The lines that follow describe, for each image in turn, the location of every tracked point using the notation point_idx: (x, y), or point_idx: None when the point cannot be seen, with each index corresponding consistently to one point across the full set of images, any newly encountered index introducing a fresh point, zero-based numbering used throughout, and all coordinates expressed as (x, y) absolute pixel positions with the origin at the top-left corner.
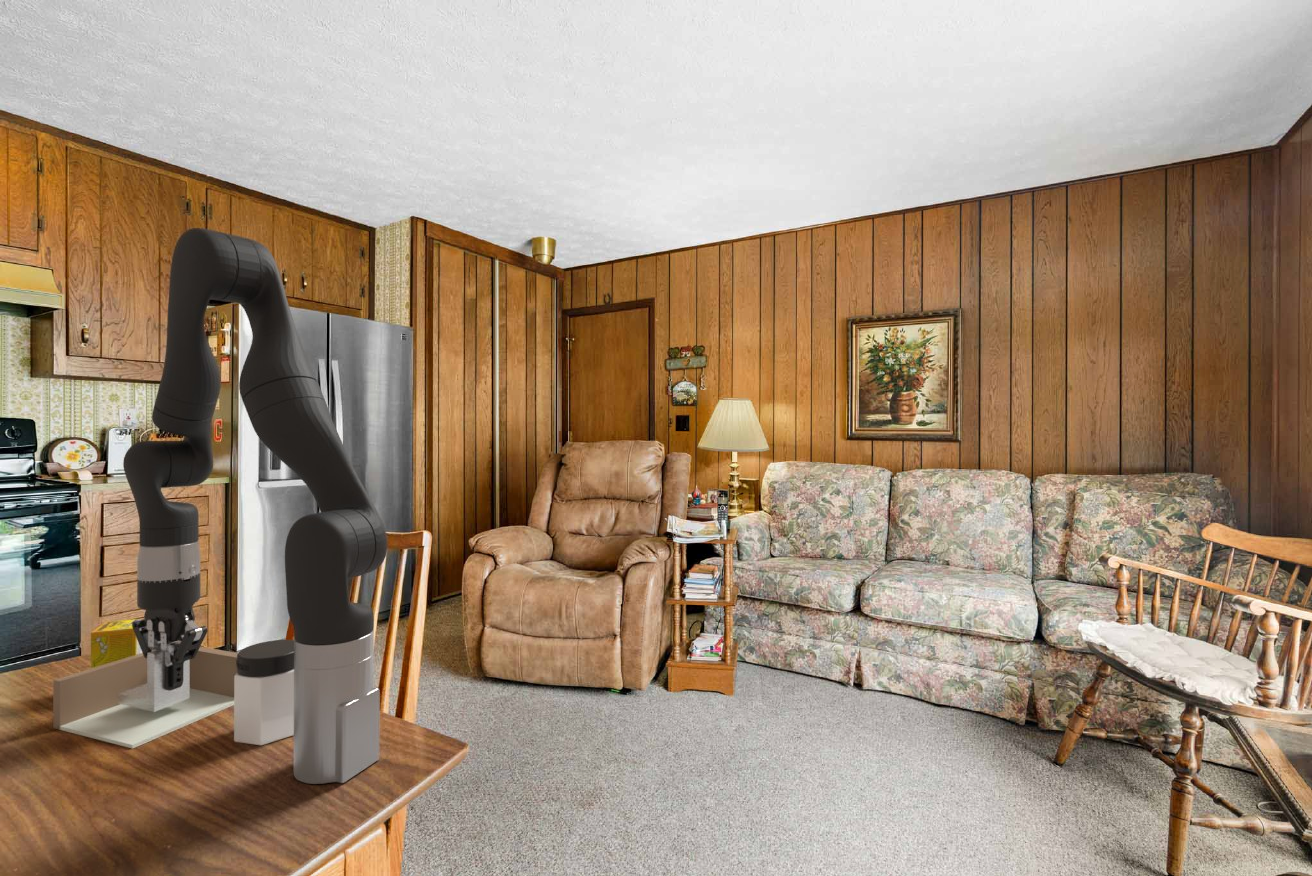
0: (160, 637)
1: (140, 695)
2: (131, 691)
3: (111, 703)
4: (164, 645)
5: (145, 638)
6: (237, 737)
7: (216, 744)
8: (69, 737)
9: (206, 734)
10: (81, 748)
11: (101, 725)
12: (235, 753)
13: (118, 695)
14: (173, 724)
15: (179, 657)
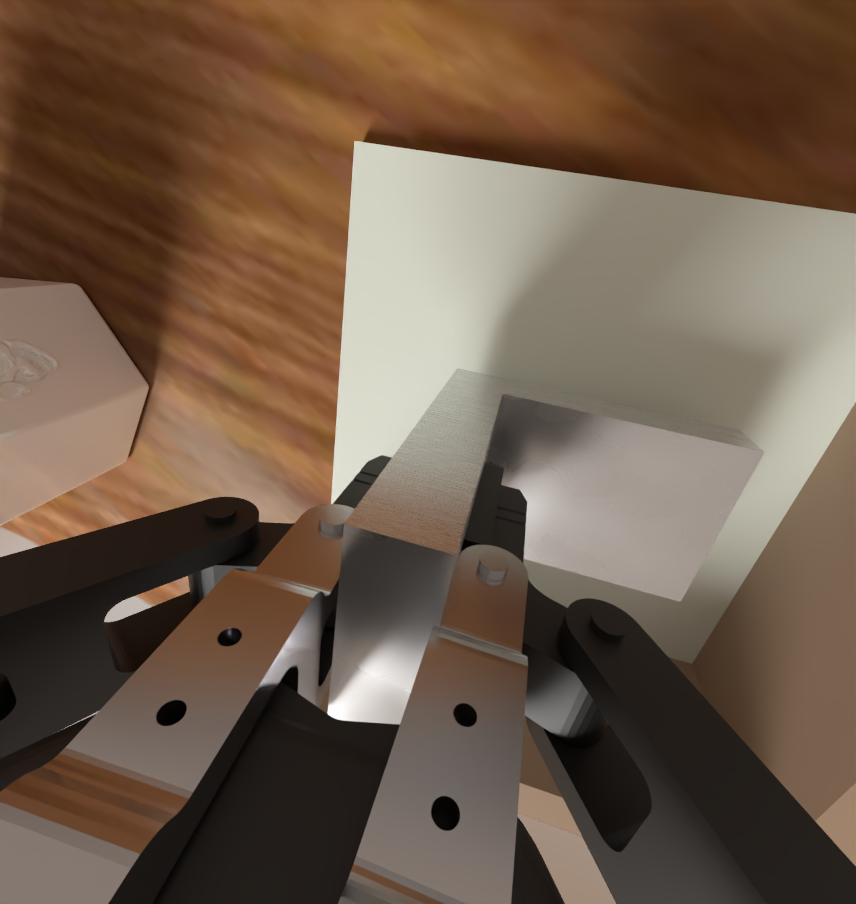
0: (339, 763)
1: (598, 443)
2: (700, 484)
3: (829, 475)
4: (230, 615)
5: (686, 828)
6: (50, 283)
7: (116, 259)
8: (798, 166)
9: (215, 321)
10: (610, 75)
11: (694, 284)
12: (7, 214)
13: (756, 448)
14: (368, 350)
15: (161, 520)
